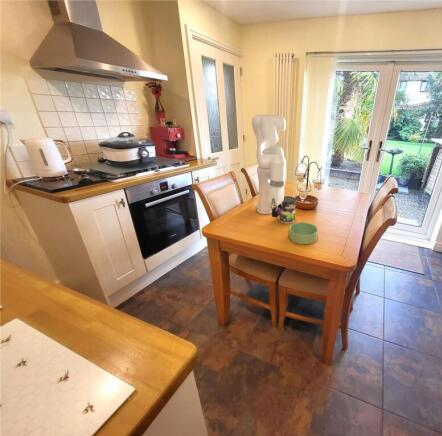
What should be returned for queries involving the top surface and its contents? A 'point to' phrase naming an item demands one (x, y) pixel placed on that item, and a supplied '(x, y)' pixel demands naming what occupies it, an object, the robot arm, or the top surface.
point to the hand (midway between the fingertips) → (276, 214)
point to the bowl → (303, 233)
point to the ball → (279, 211)
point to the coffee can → (288, 210)
